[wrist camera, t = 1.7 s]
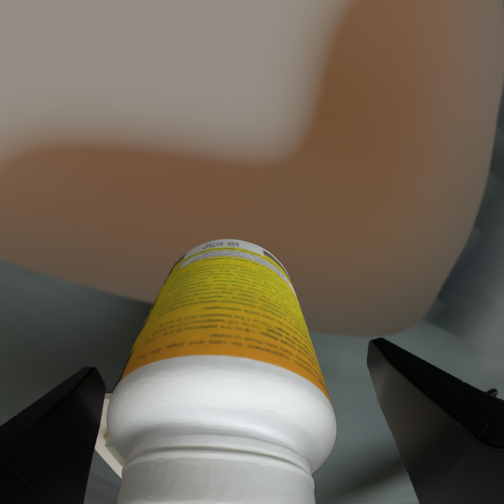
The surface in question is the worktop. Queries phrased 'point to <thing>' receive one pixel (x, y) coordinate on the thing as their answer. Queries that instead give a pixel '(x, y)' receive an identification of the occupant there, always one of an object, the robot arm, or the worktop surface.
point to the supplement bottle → (222, 388)
